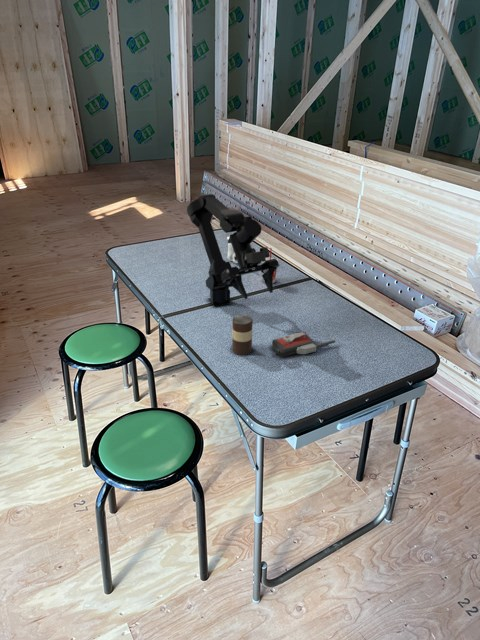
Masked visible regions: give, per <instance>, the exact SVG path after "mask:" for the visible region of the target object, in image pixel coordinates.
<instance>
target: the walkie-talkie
mask: <svg viewBox="0 0 480 640" xmlns="http://www.w3.org/2000/svg"><path fill="white" fill-rule="evenodd" d="M335 343H336V340H335V339H332V340H329V341H326V342H322V343H319V344H317V343H316V344H314V341H313V339H312V338H311V337H310V336H309V335H308V334H305V333H304V332H303V331H299V332H296V333H295V332H294V333H292V334H290V335H287V336H283V337H280V338H275V339H272V341H271V349H272V350H274V351H275V352H276V353H277V355H278V356H280V357H287V356H290V355H294V354H298V355H307V354H311V353H315V352H317V350H318V349H320V348H323V347H326V346H329V345H332V344H335Z"/></svg>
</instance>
